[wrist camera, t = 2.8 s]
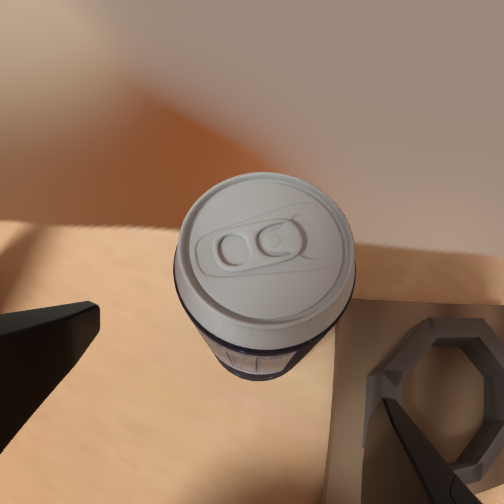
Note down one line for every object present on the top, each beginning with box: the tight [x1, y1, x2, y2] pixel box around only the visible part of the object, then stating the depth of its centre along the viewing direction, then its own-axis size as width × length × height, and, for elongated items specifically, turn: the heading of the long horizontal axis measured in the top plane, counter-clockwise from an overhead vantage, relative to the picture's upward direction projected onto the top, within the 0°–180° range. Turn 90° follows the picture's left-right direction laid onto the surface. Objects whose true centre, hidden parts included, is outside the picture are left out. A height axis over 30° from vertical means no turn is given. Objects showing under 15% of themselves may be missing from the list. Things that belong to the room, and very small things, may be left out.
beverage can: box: [173, 172, 356, 381], centre depth 14 cm, size 6×6×12 cm
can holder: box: [321, 299, 504, 504], centre depth 15 cm, size 14×14×4 cm
